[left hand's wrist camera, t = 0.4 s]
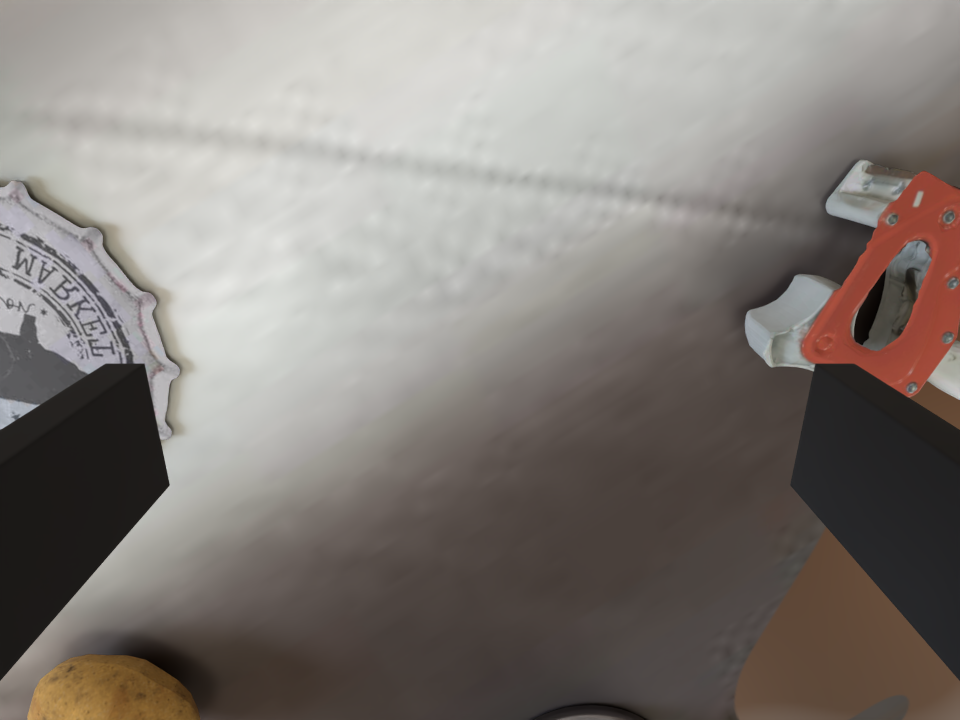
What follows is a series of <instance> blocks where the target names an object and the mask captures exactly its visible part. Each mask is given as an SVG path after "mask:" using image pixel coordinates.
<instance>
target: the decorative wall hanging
mask: <svg viewBox="0 0 960 720" xmlns="http://www.w3.org/2000/svg"><path fill="white" fill-rule="evenodd" d="M102 243H103V235H102V233H101V232H100V231H99V230H98V229H97V228H93V227H88V228H80V227H78V226H76V225H74V224H72V223H71V222H69V221H67V220H66V219H64V218H63V217H61V216H59V215H58V214H56V213H54V212H53V211H51V210H49V209H48V208H46V207H44V206H42V205H41V204H39V203H37V202H35V201H34V200H32V199H31V198H30V196H29V195H28V193H27V190H26V188H25V186H24V185H23V183H22V182H16V181H13V180H12V181H11V182H10V183H9V184H8V185H7V186H5V187H0V430H1V429H3V428H4V427H6V426H7V425H9V424H11V423H12V422H14V421H15V420H17V419H18V418H20V417H22V416H23V415H25V414H26V413H28V412H30V411H31V410H33V409H34V408H36V407H37V406H39V405H41V404H42V403H44V402H45V401H47V400H49V399H50V398H52V397H53V396H55V395H56V394H58V393H60V392H61V391H63V390H64V389H66V388H68V387H69V386H71V385H72V384H74V383H75V382H77V381H79V380H80V379H82V378H83V377H85V376H87V375H88V374H90V373H91V372H93V371H94V370H96V369H98V368H99V367H101V366H102V365H104V364H106V363H145V367H146V372H147V377H148V382H149V387H150V392H151V397H152V402H153V406H154V411H155V416H156V421H157V426H158V431H159V436H160V440H162V439H169V438H170V437H171V435H172V431H171V429H170V428H169V427H168V426H167V424H166V423H165V415H166V411H167V406H168V393H169V385H170V382H171V380H173V379H174V378H177V377H178V376H179V374H180V369H179V367H178V366H177V365H176V364H175V363H173V362H171V361H170V360H169V359H168V358H167V357H166V354H165V351H164V348H163V345H162V342H161V338H160V336H159V333H158V330H157V327H156V324H155V322H154V319H153V316H152V312H153V309H154V308H155V306H156V304H157V302H156V299H155V298H154V296H153V295H152V294H151V293H148V292H142V291H140V290H139V289H137V288H136V287H135V286H134V285H133V284H132V283H131V282H130V281H129V279H128V278H127V277H126V276H125V274H124V273H123V272H122V270H121V269H120V268H119V267H118V266H117V264H116V263H115V262H114V261H113V260H112V259H111V258H110V257H109V255H108V254H107V253H106V251H105V250H104V248H103V245H102Z"/></svg>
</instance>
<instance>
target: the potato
mask: <svg viewBox="0 0 960 720" xmlns="http://www.w3.org/2000/svg"><path fill="white" fill-rule="evenodd" d="M28 720H200V716H199V712H198V708H197V706H196V704H195V701H194V699H193V697H192V695H191V693H190V692H189V691H188V690H187V689H186V688H185V687H184V686H183V685H182V684H181V683H180V682H179V681H178V680H177V679H175V678H174V677H172V676H171V675H169V674H168V673H166V672H165V671H163V670H162V669H160V668H158V667H157V666H155V665H154V664H152V663H150V662H149V661H147V660H144V659H140V658H136V657H132V656H128V655H93V654H88V655H83V656H79V657H74V658H70V659H68V660H67V661H65V662H63V663H61V664H59V665H58V666H56V667H55V668H54V669H53V670H52V671H50V672H49V673H48V674H47V675H45V676H44V677H43V678H42V679H41V680H40V682H39V683H38V685H37V687H36V689H35V691H34V695H33V699H32V702H31V706H30V709H29V713H28Z"/></svg>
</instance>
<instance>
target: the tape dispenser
mask: <svg viewBox="0 0 960 720" xmlns="http://www.w3.org/2000/svg"><path fill="white" fill-rule="evenodd" d="M826 210H827V213H829V214H831V215H833V216H837V217H841V218H844V219H848V220H851V221H855V222H858V223H862V224H865V225H868V226H871V227H875V228H876V229H875V230H874V232H873V236H872V239H871V240H870V241H869V242H868V243H867V249H866V251H865V252H864V253H863V254H862V255H861V256H860V257H859V259H858V262H857V264H856V265H855V267H854V269H853V270H852V272H851V273H850V275H849V276H848V277H847V279H846V280H845V281H844V283H843V285H842V286H841V285H839V284H837V283H835V282H833V281H831V280H829V279H827V278H824V277H821V276H817V275H806V274H798V275H796V276H795V277H794V279H793V281H792V283H791V284H790V286H789V287H788V289H787V290H786V291H785V292H784V293H783V294H782V295H781V296H780V297H779V298H778V299H777V300H775V301H773V302H771V303H769V304H768V305H765V306H763V307H759V308H756V309H752V310H749V311H748V312H747V315H746V319H745V333H746V336H747V339H748V342H749V345H750V346H751V347H752V348H753V350H754V351H755V352H756V353H757V354H759V355H760V356H761V357H762V358H763V359H764V360H765V361H766V363H767V364H768V365H769V366H770V367H772V368H773V367H777V366H790V367H800V368H804V369H808V370H811V371H814V367H815V363H854V364H856V365H858V366H859V367H861V368H862V369H864V370H866V371H867V372H869V373H870V374H872V375H873V376H875V377H877V378H878V379H880V380H881V381H883V382H885V383H886V384H888V385H889V386H891V387H892V388H894V389H896V390H897V391H899V392H900V393H902V394H904V395H905V396H907V397H911V396H914V395H915V394H917V393H918V392H919V391H920V389H921V388H922V387H923V385H924V384H925V382H926V381H928V382H930V383H931V384H933V385H934V386H936V387H937V388H939V389H940V390H942V391H944V392H946V393H947V394H949V395H951V396H953V397H955V398H957V399H959V400H960V341H956V338H957V335H958V328H959V322H960V188H958V187H955V186H951V185H949V184H947V183H945V182H943V181H942V180H940V179H938V178H937V177H935V176H934V175H932V174H930V173H928V172H926V171H922V172H920V173H919V174H917V175H916V174H915V173H913V172H910V171H906V170H901V169H896V168H891V169H888V168H887V167H883V166H880V165H874V164H873V163H871V162H870V161H867V160H860V161H859V162H857V163H856V164H855V165H854V167H853V168H852V169H851V171H850V172H849V173H848V174H847V176H846V177H845V178H844V180H843V181H842V182H841V183H840V185H839V186H838V187H837V188H836V190H835V191H834V192H833V193H832V194H831V196H830V197H829V198H828V200H827V203H826ZM905 245H906V246H905ZM904 246H905V247H904ZM903 247H904V248H903ZM902 248H903V249H902ZM901 250H902V251H901ZM885 269H886V276H885V284H884V290H883V295H882V299H881V303H880V306H879V309H878V312H877V315H876V318H875V321H874V323H873V325H872V328H871V330H870V332H869V339H868V340H867V341H865V342H864V344H863V345H861V344H859V343H857V342H855V340H854V325H855V319H856V316H857V313H858V311H859V308H860V307H861V305H862V304H863V302H864V301H865V299H866V297H867V296H868V293H869V291H870V290H871V289H872V287H873V286H874V285H875V283H876V282H877V280H878V279H879V277H880V276H881V275H882V273H883V272H884V271H885Z"/></svg>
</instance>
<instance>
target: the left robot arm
mask: <svg viewBox="0 0 960 720" xmlns="http://www.w3.org/2000/svg"><path fill="white" fill-rule="evenodd" d="M168 487H169V480H168V475H167V470H166V465H165V460H164V455H163V450H162V445H161V441H160V436H159V431H158V426H157V421H156V416H155V411H154V406H153V402H152V397H151V392H150V387H149V382H148V377H147V372H146V367H145V363H106V364H104V365H102V366H101V367H99V368H98V369H96V370H94V371H93V372H91V373H90V374H88V375H87V376H85V377H83V378H82V379H80V380H79V381H77V382H75V383H74V384H72V385H71V386H69V387H68V388H66V389H64V390H63V391H61V392H60V393H58V394H56V395H55V396H53V397H52V398H50V399H49V400H47V401H45V402H44V403H42V404H41V405H39V406H37V407H36V408H34V409H33V410H31V411H30V412H28V413H26V414H25V415H23V416H22V417H20V418H18V419H17V420H15V421H14V422H12V423H11V424H9V425H7V426H6V427H4V428H3V429H1V430H0V680H1V679H2V678H3V677H4V676H5V675H6V674H7V672H8V671H9V670H10V669H11V668H12V667H13V665H14V664H15V663H16V662H17V661H18V660H19V659H20V657H21V656H22V655H23V654H24V653H25V652H26V650H27V649H28V648H29V647H30V646H31V645H32V644H33V642H34V641H35V640H36V639H37V638H38V637H39V635H40V634H41V633H42V632H43V631H44V630H45V628H46V627H47V626H48V625H49V624H50V623H51V622H52V620H53V619H54V618H55V617H56V616H57V615H58V613H59V612H60V611H61V610H62V609H63V608H64V607H65V605H66V604H67V603H68V602H69V601H70V600H71V598H72V597H73V596H74V595H75V594H76V593H77V592H78V590H79V589H80V588H81V587H82V586H83V585H84V583H85V582H86V581H87V580H88V579H89V578H90V577H91V575H92V574H93V573H94V572H95V571H96V570H97V568H98V567H99V566H100V565H101V564H102V563H103V562H104V560H105V559H106V558H107V557H108V556H109V555H110V553H111V552H112V551H113V550H114V549H115V548H116V547H117V545H118V544H119V543H120V542H121V541H122V540H123V538H124V537H125V536H126V535H127V534H128V533H129V532H130V530H131V529H132V528H133V527H134V526H135V525H136V523H137V522H138V521H139V520H140V519H141V518H142V517H143V515H144V514H145V513H146V512H147V511H148V510H149V508H150V507H151V506H152V505H153V504H154V503H155V502H156V500H157V499H158V498H159V497H160V496H161V495H162V493H163V492H164V491H165V490H166V489H167V488H168ZM791 487H792V488H793V489H794V490H795V491H796V492H797V493H798V495H799V496H800V497H801V498H802V499H803V500H804V502H805V503H806V504H807V505H808V506H809V507H810V508H811V510H812V511H813V512H814V513H815V514H816V515H817V517H818V518H819V519H820V520H821V521H822V522H823V523H824V525H825V526H826V527H827V528H828V529H829V530H830V532H831V533H832V534H833V535H834V536H835V537H836V538H837V540H838V541H839V542H840V543H841V544H842V545H843V546H844V548H845V549H846V550H847V551H848V552H849V553H850V555H851V556H852V557H853V558H854V559H855V560H856V562H857V563H858V564H859V565H860V566H861V567H862V568H863V570H864V571H865V572H866V573H867V574H868V575H869V577H870V578H871V579H872V580H873V581H874V582H875V583H876V585H877V586H878V587H879V588H880V589H881V590H882V592H883V593H884V594H885V595H886V596H887V597H888V598H889V600H890V601H891V602H892V603H893V604H894V605H895V607H896V608H897V609H898V610H899V611H900V612H901V613H902V615H903V616H904V617H905V618H906V619H907V620H908V622H909V623H910V624H911V625H912V626H913V627H914V628H915V630H916V631H917V632H918V633H919V634H920V635H921V637H922V638H923V639H924V640H925V641H926V642H927V644H928V645H929V646H930V647H931V648H932V649H933V650H934V652H935V653H936V654H937V655H938V656H939V657H940V658H941V660H942V661H943V662H944V663H945V664H946V665H947V666H948V668H949V669H950V670H951V671H952V672H953V674H954V675H955V676H956V677H957V678H958V679H959V680H960V430H959V429H957V428H956V427H954V426H953V425H951V424H949V423H948V422H946V421H945V420H943V419H941V418H940V417H938V416H937V415H935V414H934V413H932V412H930V411H929V410H927V409H926V408H924V407H923V406H921V405H919V404H918V403H916V402H915V401H913V400H911V399H910V398H908V397H907V396H905V395H904V394H902V393H900V392H899V391H897V390H896V389H894V388H892V387H891V386H889V385H888V384H886V383H885V382H883V381H881V380H880V379H878V378H877V377H875V376H873V375H872V374H870V373H869V372H867V371H866V370H864V369H862V368H861V367H859V366H858V365H856V364H854V363H815V367H814V372H813V377H812V382H811V387H810V392H809V397H808V402H807V406H806V411H805V416H804V421H803V426H802V431H801V436H800V441H799V445H798V450H797V455H796V460H795V465H794V470H793V475H792V480H791ZM534 720H644V719H643V718H641V717H639V716H637V715H635V714H633V713H630V712H628V711H625V710H622V709H618V708H613V707H608V706H598V705H582V706H573V707H567V708H562V709H558V710H555V711H551V712H549V713H546V714H543V715H541V716H539V717H537V718H535V719H534Z"/></svg>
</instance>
